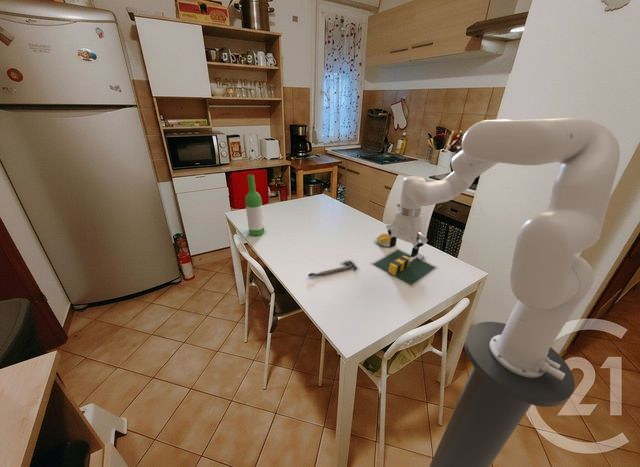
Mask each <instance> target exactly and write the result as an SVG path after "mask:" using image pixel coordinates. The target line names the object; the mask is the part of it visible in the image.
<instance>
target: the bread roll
mask: <svg viewBox="0 0 640 467" xmlns="http://www.w3.org/2000/svg"><path fill="white" fill-rule="evenodd" d="M389 236H390V235H389V234H388V233H381V234H379V235H378V236H377V237H376V242H377V244H378V245H380V246H382V247H386V248H387V247H388V248H391V247H390V239H391V238H390V237H389Z"/></svg>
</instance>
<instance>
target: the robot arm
mask: <svg viewBox="0 0 640 467" xmlns="http://www.w3.org/2000/svg"><path fill="white" fill-rule="evenodd" d="M620 150H621V149H620V145H619V142H618V139H617V137H616V136H615V134H614V133H613V132H612V131H611V130H610V129H609V128H607V127H606V126H605V125H603V124H601V123H598V122H595V121H593V120H590V119H586V118H579V117H559V118H540V119H539V118H538V119H517V120H515V119H514V120H513V119H506V118H505V119H503V118H502V119H485V120H484V119H483V120H481V121H478V122H476V123H474V124H473V125H471V126H470V127H469V128H467V130H466V131H465V133H464V134H463V136H462V140H461V150H459V151H458V152H456V154H454V156H453V157H452V158H451V162H450V164H451V165H450V166H451V169H452V172H451V173H450V174H448V175H447V176H446V177H444V178H442V179H439V180H431V181H427V180H426V179H425V178H424V177H422V176H418V175H409V176H406V177H404V179H403V181H402V188H401V194H400V199H399V200H400V201H399V203H398V204H396V208H398V210H397V211H396V213H395V215H394V217H393V221H392V223H390V224H387V225H386V227H385V228H386V230H387V234H389V235H390V236H389V237H390V238H391V239H390V247H389V248H391V249H392V248H394V247H396V245H397V239H398V240H401V241H403V242H406V243H409V244H412V246H413V247H412V249H411V254H410V256H411V257H414V256H416V255H417V254H418V253H419V250H420V248H421V247H423V246H424V245H425V244H427V242H428V241H429V239H428V238H427V237H426V236H425V235H424V234H423V233H422V225H423V224H422V222H423V221H422V215H421V212H422V207H427V206H432V205H436V204H442V203H446V202H449V201H452V200H453V199H455V198H457V197H458V196H459V195H461V194H463V193H464V192H466V191H467V190H468V189H469V188H470V187H471V186H472V184H473V183H474V182H475V179H477V178H478V177H480V176H481V175H482V174H484V173H485V172H487V171H489V169H491V168H493V167H494V166H495V165H497V164H499V163H500V164H508V165H517V166H542V165H547V164H553V163H559V164H560V169H559V172H558V174H557V175H556V177H555V180H554V182H553V185H552V188H551V195H550V199H549V204H548V207H547V209H546V211H544V212H541V213H538V214H536V215H534V216H531V217H530V218H529V219H527V220H526V221H525V222H524V224H522V226H521V228H520V229H519V230H518V234H517V236H516V240H515V247H514V253H513V258H512V262H511V270H510V277H509V285H510V287H511V291H512V293H513V295H514V297H515V298H516V300H517V301H516V303H515V305H514V307H513V309H512V311H511V314H510V315H509V317H508V319H507V322H506V323H505V324H506V326H505V328H504V330H503V332H502V334H501V335H496V336H494V337H493V338H492V339H491V341H490V344H489V347H490V351H491V353H492V355H493V356H494V357H495V359H496V360H497V361H498V362H499V363H500V364H501V365H503V366H504V367H505V368H507V369H508V370H510V371H512V372H514V373H516V374H518V375H521V376H524V377H529V378H537V377H540V376H542V375H543V374H544V373H545V371H546V372H548V373H550V374H551V375H552V376H554V377H556V378H557V379H559V380H561V381H562V379H563V378H564V376H565V373H563V372H561V371H559V370H558V369H559V368H560V366H561V365H559V364H558V363H556V362H553V361H552V360H550V359H549V358H548V357H547V354H548V350H549V349H550V347H551V348H552V346H553V344H554V342H555V341H556V340H557V338H558V336H559V334H560V332H561V331H562V329H563V327H565V325H566V323H567V322H568V320H569V318H571V316H572V314H573V312H574V311H575V310H576V309H577V307H578V306H579V305H580V303H582V300H583V299H584V298H585V297H586V296H587V294H588V293H589V292H590V291H591V289H592V287H593V284H594V281H595V274H594V270H593V267H592V266H591V265H590V263H589V262H588V261H587V260H585V258H582V256H579V255H577V254H579V253H581V252H583V251H586V250H588V249H590V248H591V247H593V246H594V245H595V244H596V243H598V241H599V240H600V238H601V235H602V230H603V227H604V222H605V218H606V216H607V212H608V207H609V203H610V201H611V196H612V191H613V187H614V183H615V180H616V177H617V172H618V169H619V168H618V167H619V164H620V163H619V162H620V158H621V156H620V155H621V151H620ZM420 240H421V242H420ZM550 365H551V366H552V367H551V366H550ZM553 367H554V368H553Z"/></svg>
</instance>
